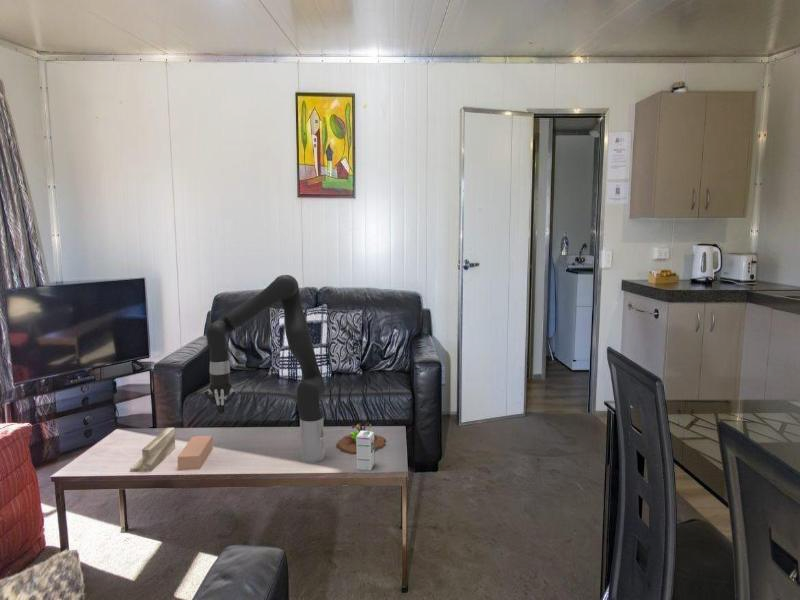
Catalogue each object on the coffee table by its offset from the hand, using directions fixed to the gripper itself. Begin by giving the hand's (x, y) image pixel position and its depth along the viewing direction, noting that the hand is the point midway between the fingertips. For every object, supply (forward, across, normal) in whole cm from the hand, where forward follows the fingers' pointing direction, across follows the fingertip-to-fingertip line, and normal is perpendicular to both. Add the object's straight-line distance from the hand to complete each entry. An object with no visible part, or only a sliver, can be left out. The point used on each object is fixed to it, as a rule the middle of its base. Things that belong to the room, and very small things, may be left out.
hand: (221, 413), depth 204 cm
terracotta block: (+20, +11, 0) cm, 22 cm away
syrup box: (+19, -58, +10) cm, 62 cm away
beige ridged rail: (+19, +25, 0) cm, 32 cm away
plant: (+20, -55, -11) cm, 59 cm away
